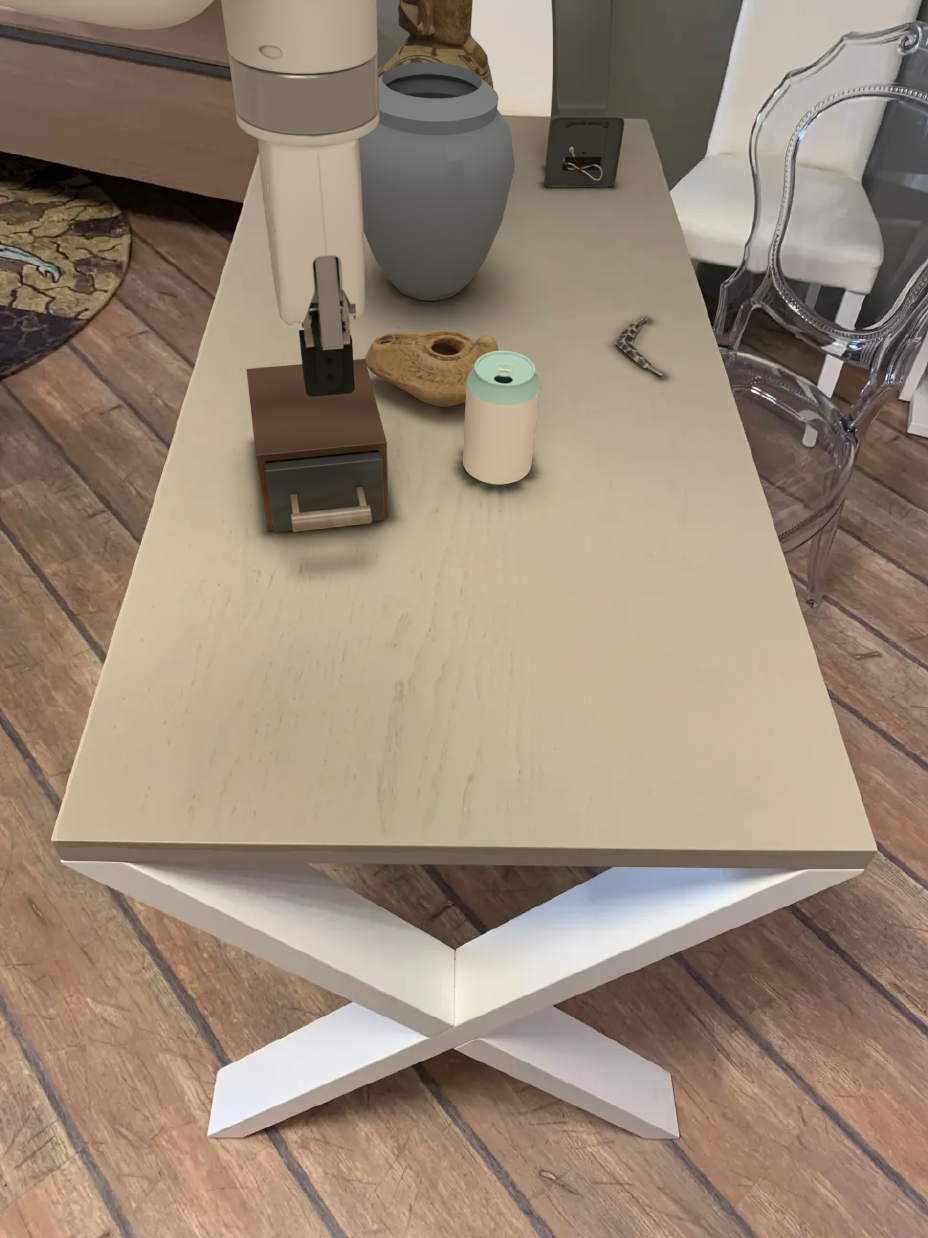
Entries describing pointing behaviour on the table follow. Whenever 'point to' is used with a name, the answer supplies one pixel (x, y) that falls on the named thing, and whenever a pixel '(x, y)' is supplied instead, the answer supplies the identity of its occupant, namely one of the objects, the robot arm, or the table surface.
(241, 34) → the robot arm
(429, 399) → the oil lamp
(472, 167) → the vase
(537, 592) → the table surface
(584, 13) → the light fixture
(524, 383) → the can
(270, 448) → the cabinet
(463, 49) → the brown tall carved piece
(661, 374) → the boomerang
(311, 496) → the drawer
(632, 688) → the table surface
